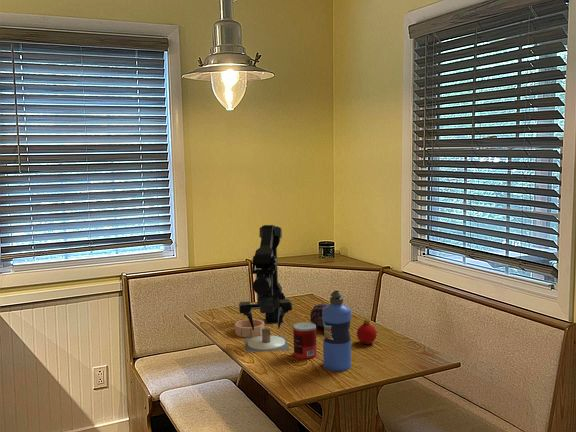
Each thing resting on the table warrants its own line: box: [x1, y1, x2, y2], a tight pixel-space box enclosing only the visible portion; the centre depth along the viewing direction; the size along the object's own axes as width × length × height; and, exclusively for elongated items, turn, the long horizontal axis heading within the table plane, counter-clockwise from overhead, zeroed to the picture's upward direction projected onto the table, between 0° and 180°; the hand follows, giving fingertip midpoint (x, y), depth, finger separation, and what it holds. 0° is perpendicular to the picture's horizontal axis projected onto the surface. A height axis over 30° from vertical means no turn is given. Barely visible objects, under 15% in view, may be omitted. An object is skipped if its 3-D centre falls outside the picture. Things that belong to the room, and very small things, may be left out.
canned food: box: [292, 321, 317, 361], centre depth 201 cm, size 8×8×11 cm
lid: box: [248, 327, 285, 350], centre depth 214 cm, size 14×14×5 cm
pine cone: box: [309, 303, 330, 329], centre depth 230 cm, size 18×10×10 cm, turn 18°
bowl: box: [234, 318, 266, 338], centre depth 227 cm, size 11×12×4 cm
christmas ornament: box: [356, 316, 378, 345], centre depth 213 cm, size 7×7×10 cm
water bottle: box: [322, 290, 352, 372], centre depth 192 cm, size 9×9×25 cm
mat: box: [244, 335, 291, 354], centre depth 214 cm, size 15×15×1 cm
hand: (266, 329), depth 214 cm, fingers open, 9 cm apart
